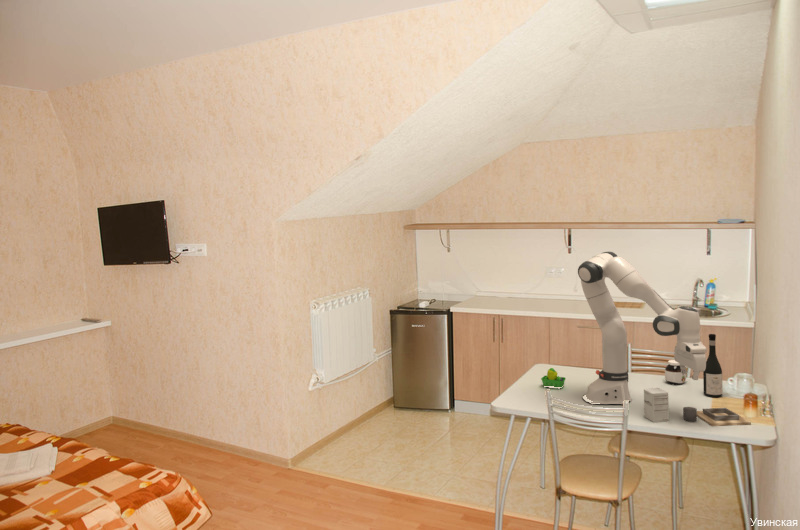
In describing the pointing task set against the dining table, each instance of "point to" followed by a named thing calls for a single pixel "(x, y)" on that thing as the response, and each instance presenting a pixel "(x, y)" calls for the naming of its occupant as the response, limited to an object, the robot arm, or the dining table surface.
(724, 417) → the holder board
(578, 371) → the dining table surface
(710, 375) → the wine bottle
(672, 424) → the dining table surface
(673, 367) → the spread jar
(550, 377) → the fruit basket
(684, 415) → the dark grey cylinder
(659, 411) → the supplement box
